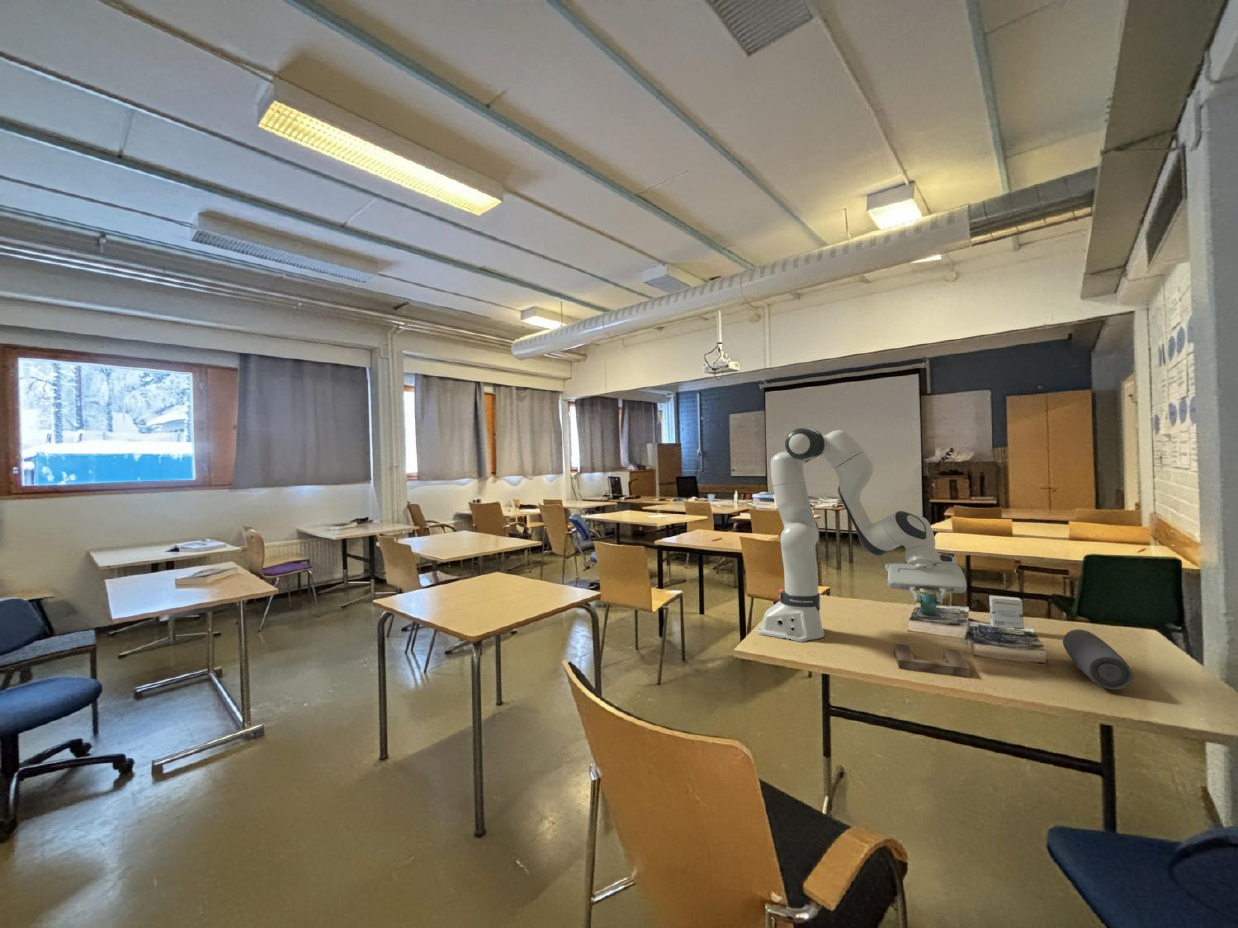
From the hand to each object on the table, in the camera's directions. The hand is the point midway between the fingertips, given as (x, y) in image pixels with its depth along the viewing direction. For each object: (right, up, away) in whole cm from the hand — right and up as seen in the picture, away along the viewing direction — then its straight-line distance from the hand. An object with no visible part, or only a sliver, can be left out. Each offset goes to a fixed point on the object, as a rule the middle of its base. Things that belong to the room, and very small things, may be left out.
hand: (928, 602), depth 145 cm
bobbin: (+1, -5, +1) cm, 5 cm away
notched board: (0, -18, 0) cm, 18 cm away
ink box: (+42, -17, +24) cm, 51 cm away
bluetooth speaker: (+38, -17, -11) cm, 43 cm away
